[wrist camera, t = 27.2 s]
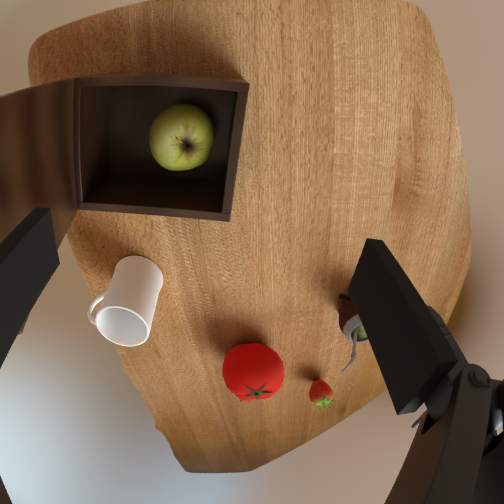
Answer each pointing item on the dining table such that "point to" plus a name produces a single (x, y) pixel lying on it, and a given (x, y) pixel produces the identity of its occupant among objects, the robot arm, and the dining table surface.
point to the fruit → (320, 393)
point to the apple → (181, 137)
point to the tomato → (253, 371)
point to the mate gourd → (351, 325)
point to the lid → (37, 156)
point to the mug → (129, 301)
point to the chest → (138, 149)
